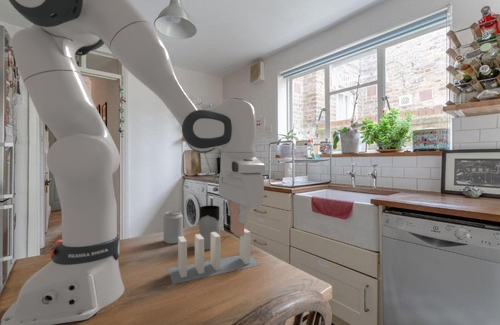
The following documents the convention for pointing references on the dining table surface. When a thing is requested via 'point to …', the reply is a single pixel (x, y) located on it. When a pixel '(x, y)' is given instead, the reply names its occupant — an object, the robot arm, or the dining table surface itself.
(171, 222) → the can
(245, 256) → the domino
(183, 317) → the dining table surface
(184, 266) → the domino
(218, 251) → the domino
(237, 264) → the mat
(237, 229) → the domino
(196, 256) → the domino
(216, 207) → the grey mug
